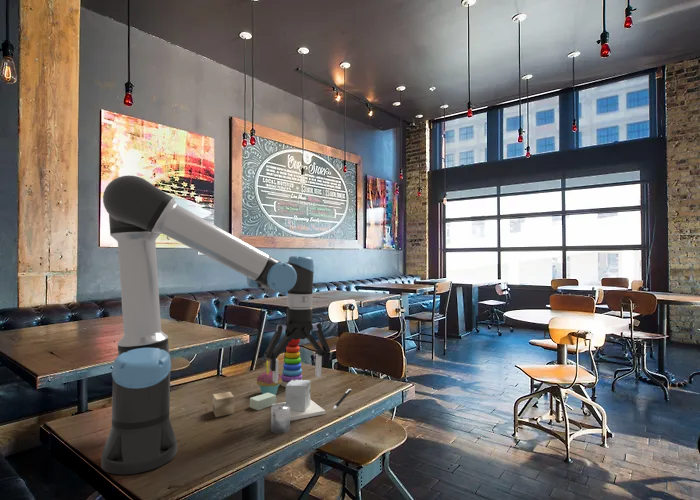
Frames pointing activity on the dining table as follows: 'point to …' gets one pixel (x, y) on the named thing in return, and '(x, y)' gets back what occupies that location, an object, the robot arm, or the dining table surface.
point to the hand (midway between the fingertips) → (297, 379)
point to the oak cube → (223, 404)
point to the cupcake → (268, 382)
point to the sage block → (262, 401)
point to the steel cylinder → (280, 418)
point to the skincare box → (298, 394)
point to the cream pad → (306, 411)
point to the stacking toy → (292, 363)
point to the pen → (342, 398)
